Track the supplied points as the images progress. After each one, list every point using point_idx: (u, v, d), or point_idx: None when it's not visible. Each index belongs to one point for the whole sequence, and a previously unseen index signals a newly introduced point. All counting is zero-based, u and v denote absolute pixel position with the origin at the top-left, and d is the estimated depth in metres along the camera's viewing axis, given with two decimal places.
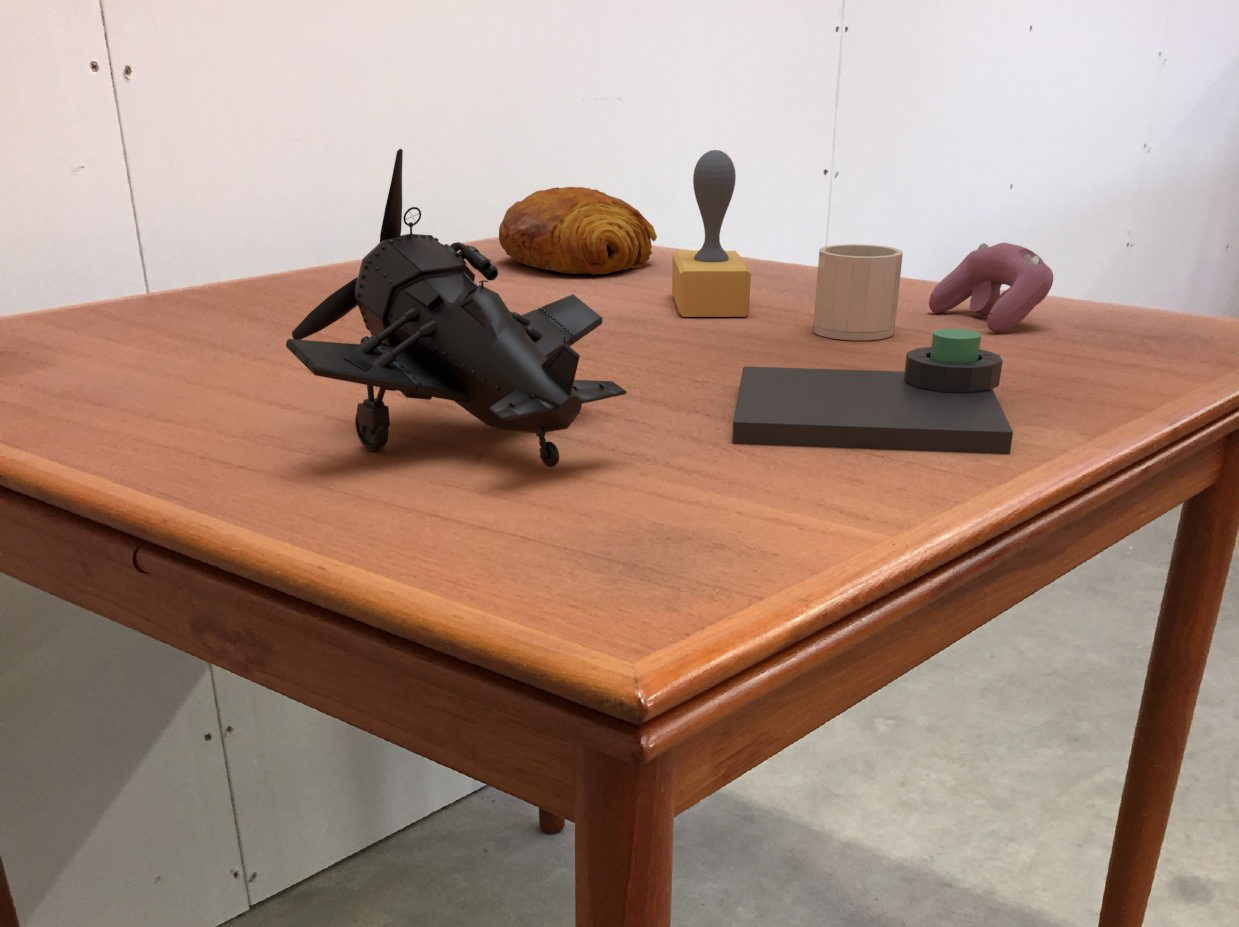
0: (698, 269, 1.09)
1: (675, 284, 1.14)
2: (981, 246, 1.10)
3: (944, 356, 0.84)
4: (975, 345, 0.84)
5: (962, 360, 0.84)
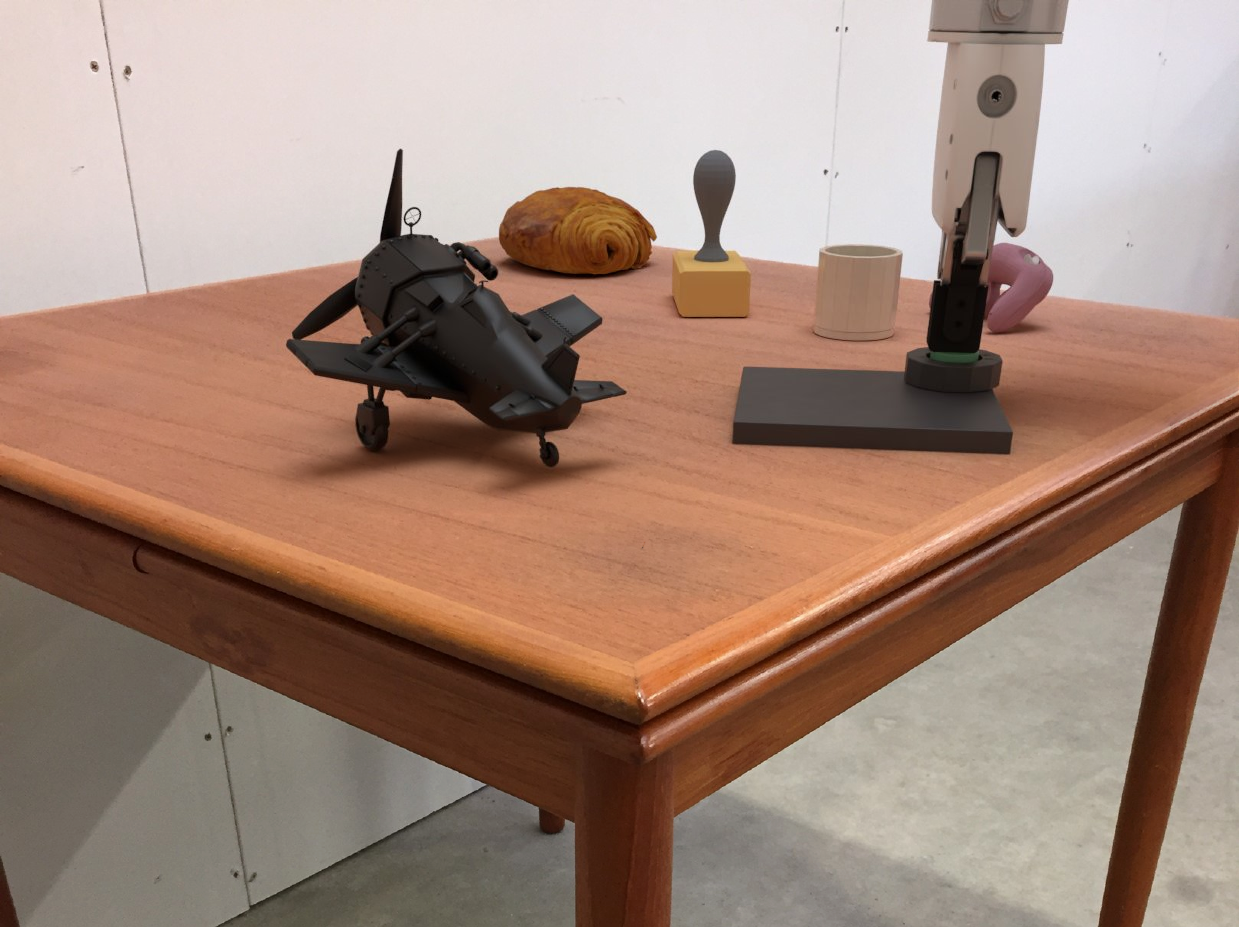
0: (698, 269, 1.09)
1: (675, 284, 1.14)
2: None
3: None
4: None
5: None
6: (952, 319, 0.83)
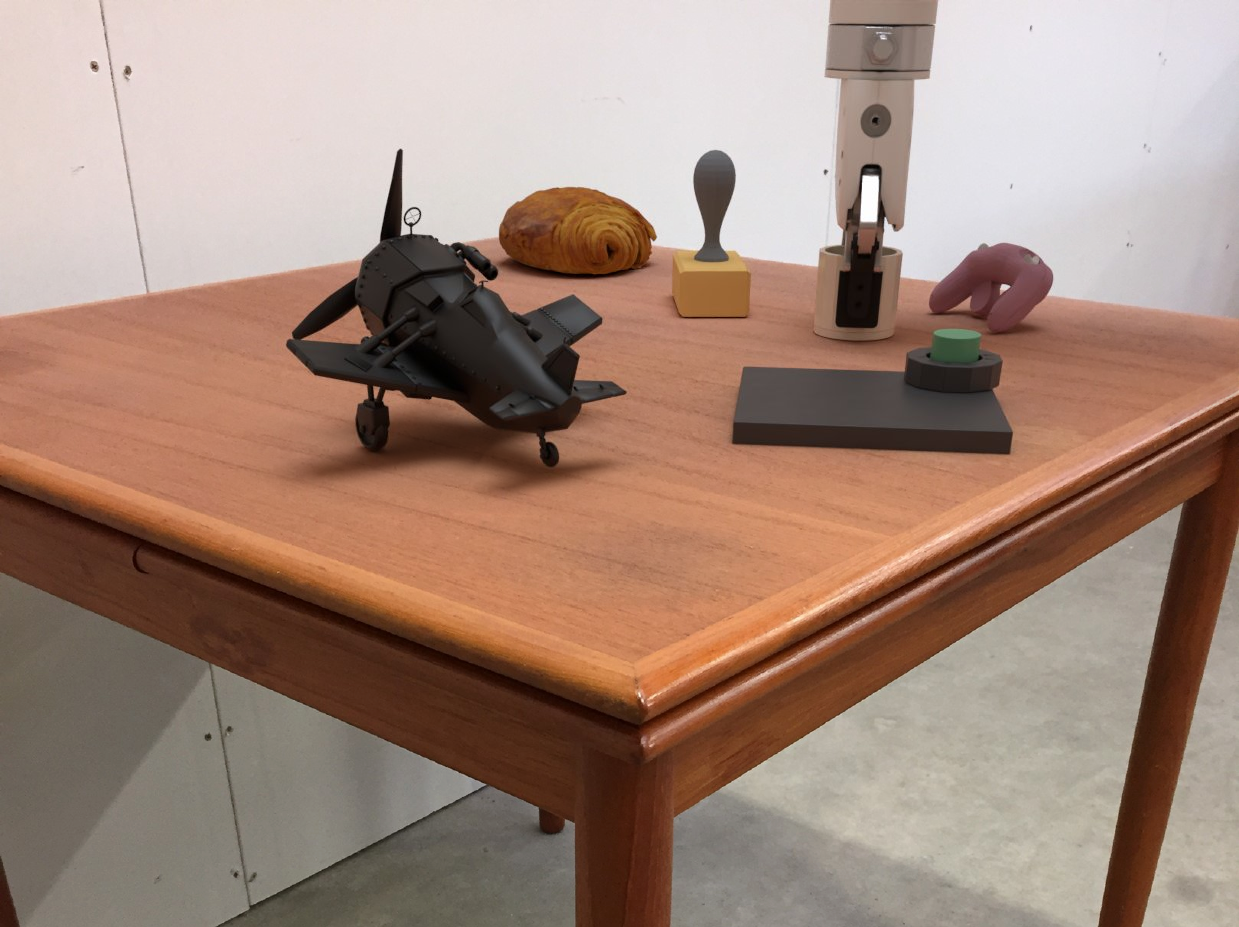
0: (698, 269, 1.09)
1: (675, 284, 1.14)
2: (981, 246, 1.10)
3: (944, 356, 0.84)
4: (975, 345, 0.84)
5: (962, 360, 0.84)
6: (853, 300, 1.00)
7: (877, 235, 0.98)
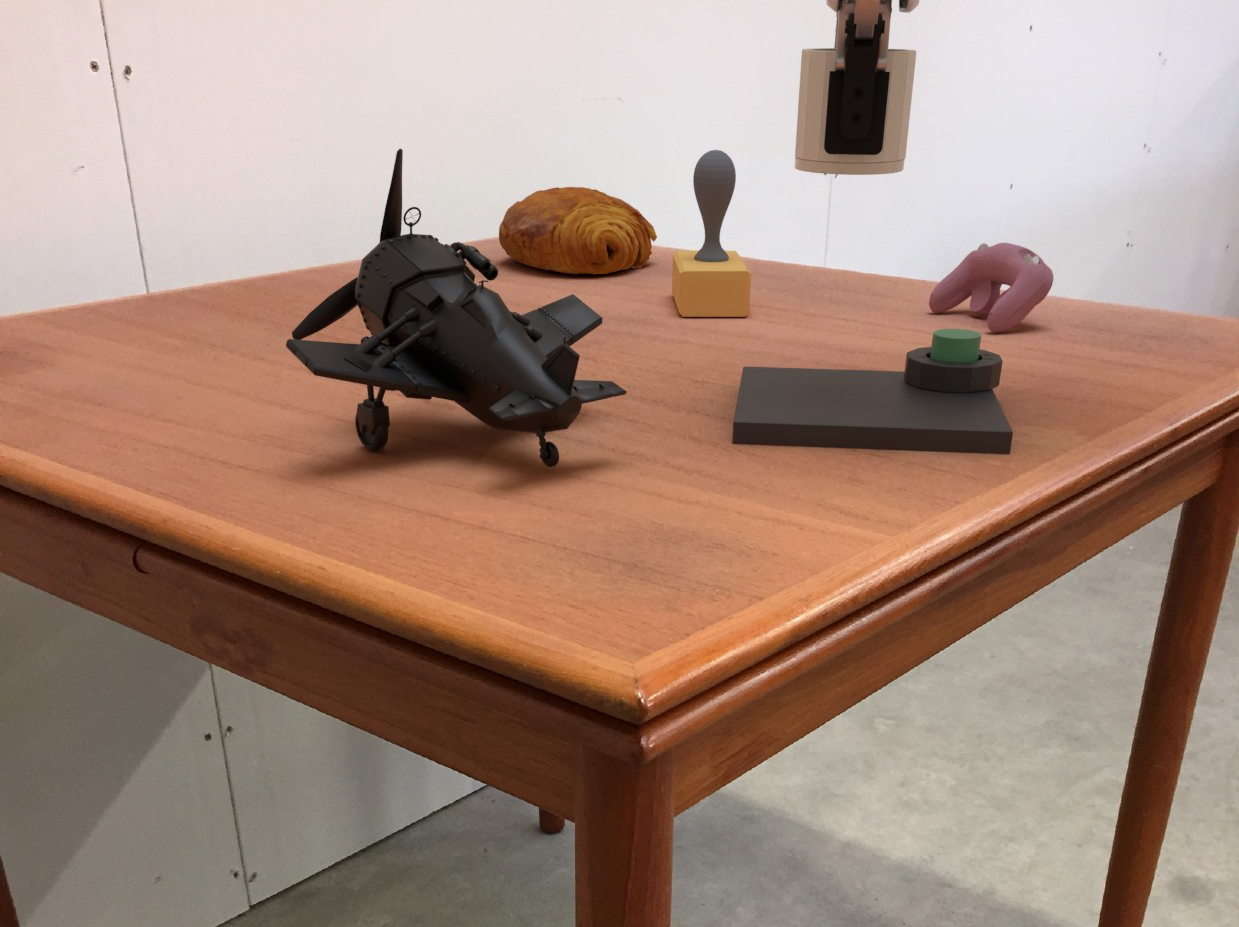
0: (698, 269, 1.09)
1: (675, 284, 1.14)
2: (981, 246, 1.10)
3: (944, 356, 0.84)
4: (975, 345, 0.84)
5: (962, 360, 0.84)
6: (848, 112, 0.72)
7: (882, 16, 0.70)
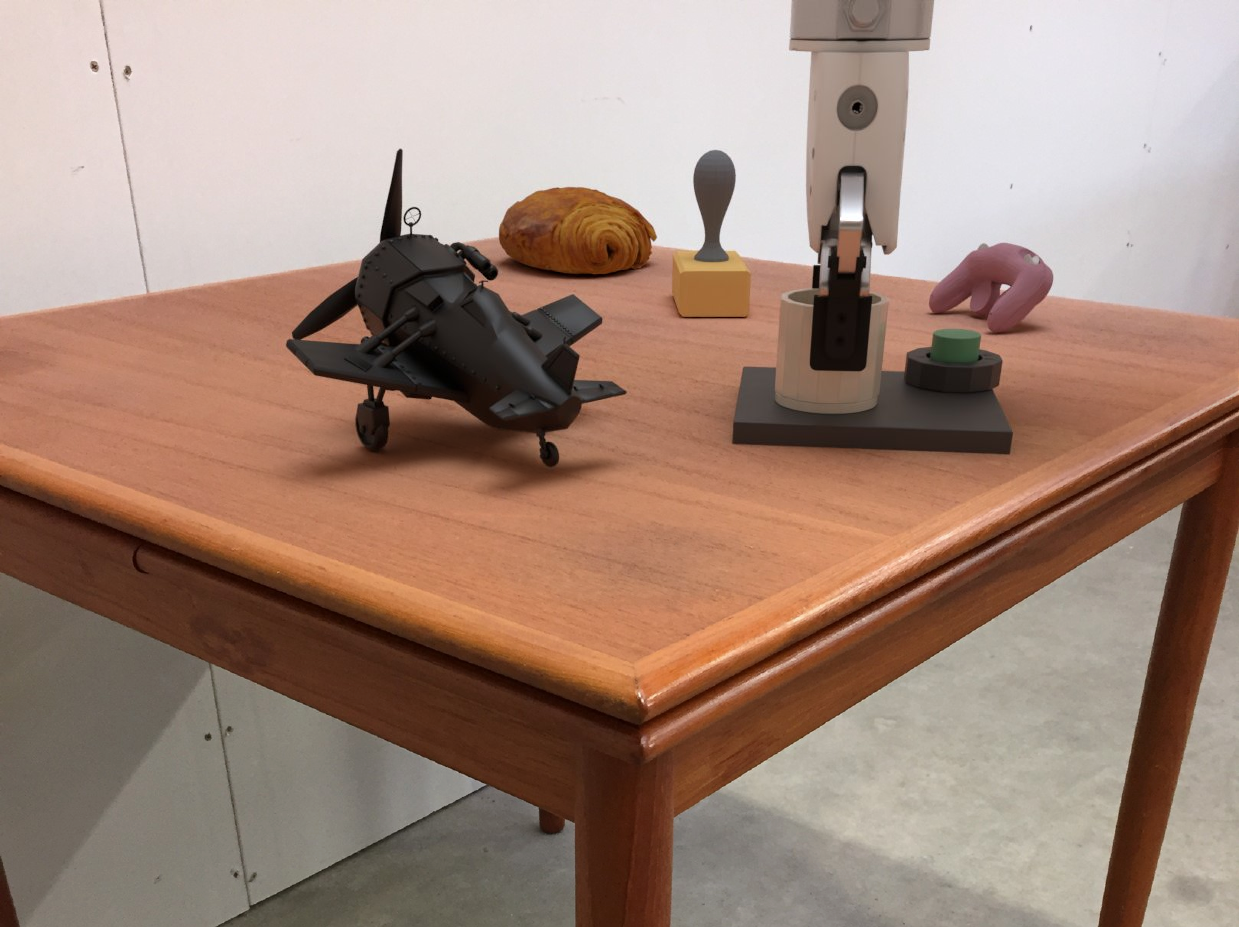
0: (698, 269, 1.09)
1: (675, 284, 1.14)
2: (981, 246, 1.10)
3: (944, 356, 0.84)
4: (975, 345, 0.84)
5: (962, 360, 0.84)
6: (833, 334, 0.75)
7: (863, 249, 0.73)
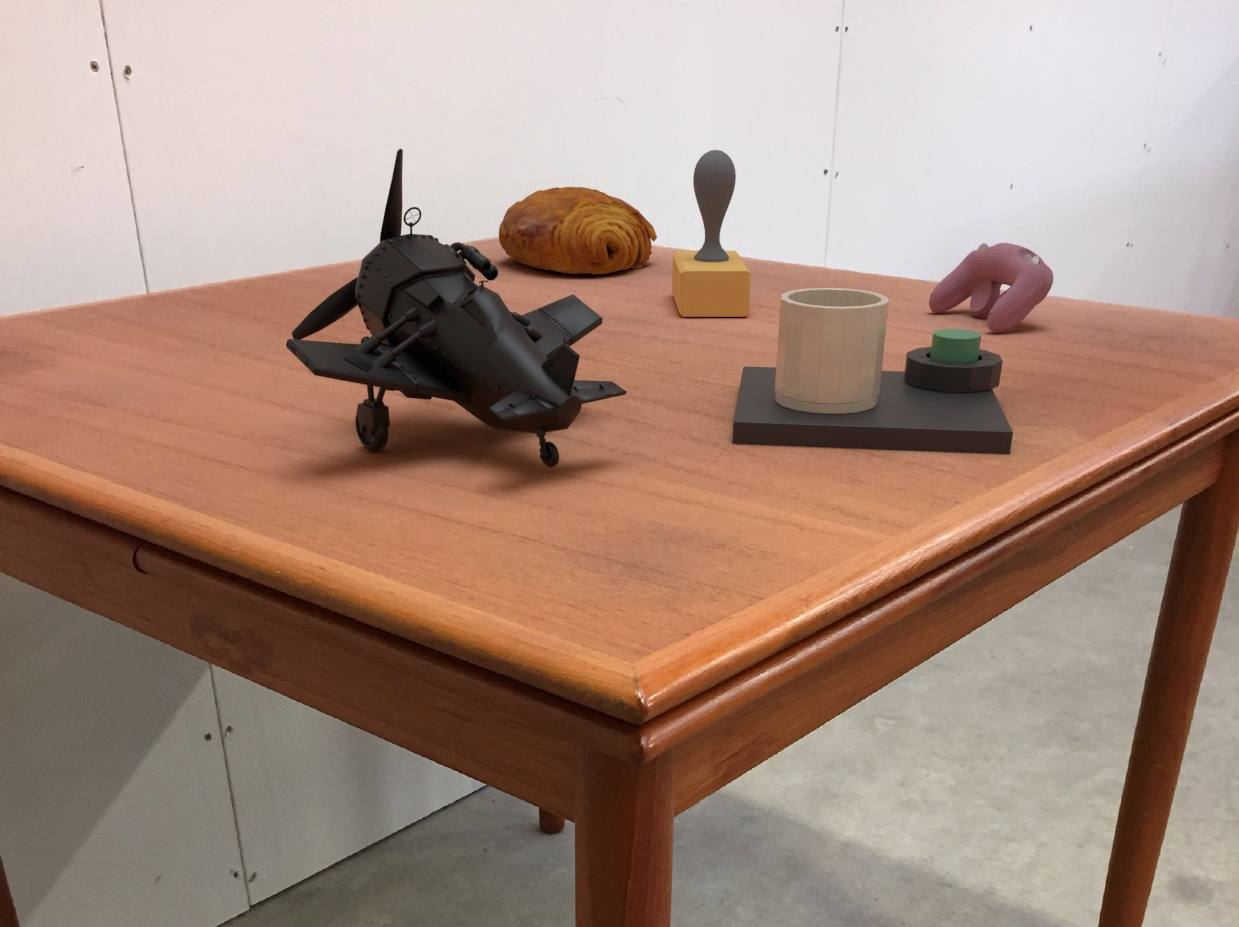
0: (698, 269, 1.09)
1: (675, 284, 1.14)
2: (981, 246, 1.10)
3: (944, 356, 0.84)
4: (975, 345, 0.84)
5: (962, 360, 0.84)
6: None
7: None
